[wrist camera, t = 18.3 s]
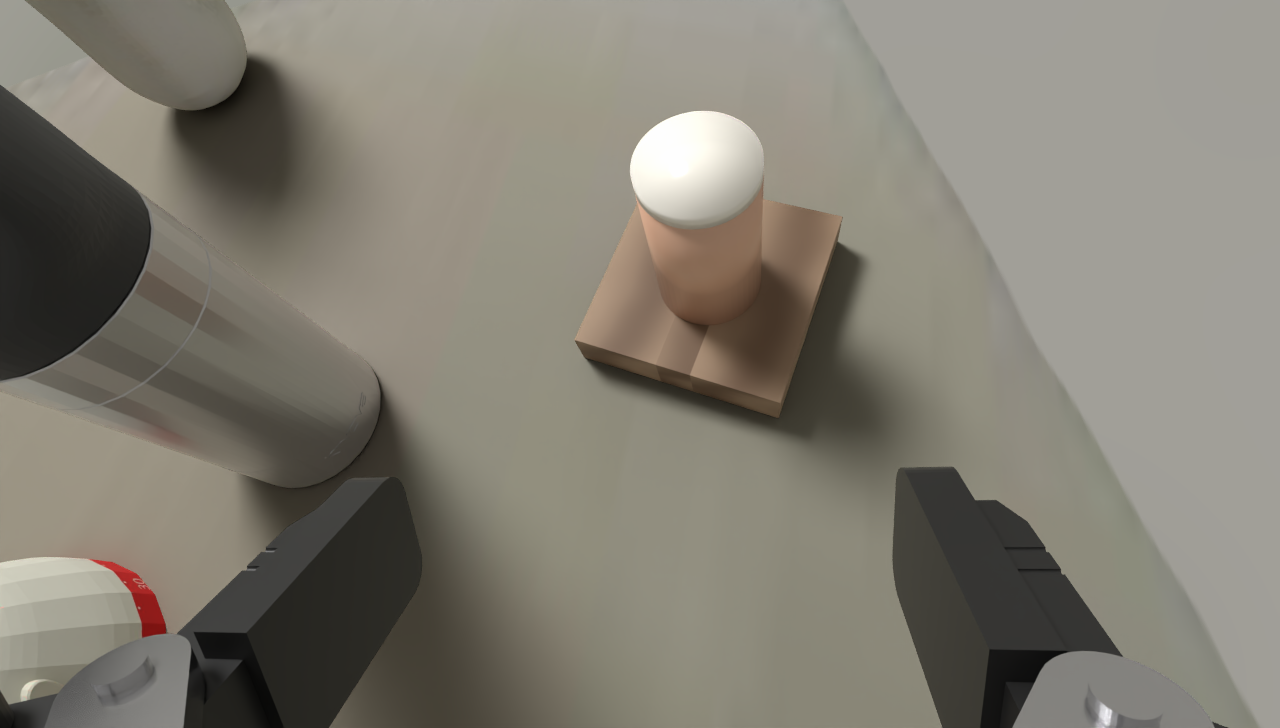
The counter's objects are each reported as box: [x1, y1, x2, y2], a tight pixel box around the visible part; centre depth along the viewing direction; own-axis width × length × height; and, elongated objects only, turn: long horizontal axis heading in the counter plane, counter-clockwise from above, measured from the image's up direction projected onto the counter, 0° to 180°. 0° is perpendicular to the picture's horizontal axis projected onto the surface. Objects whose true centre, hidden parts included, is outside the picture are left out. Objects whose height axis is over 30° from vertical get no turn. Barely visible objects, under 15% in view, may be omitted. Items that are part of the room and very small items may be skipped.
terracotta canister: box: [630, 111, 764, 325], centre depth 33 cm, size 6×6×10 cm
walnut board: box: [574, 199, 843, 418], centre depth 39 cm, size 12×12×2 cm
